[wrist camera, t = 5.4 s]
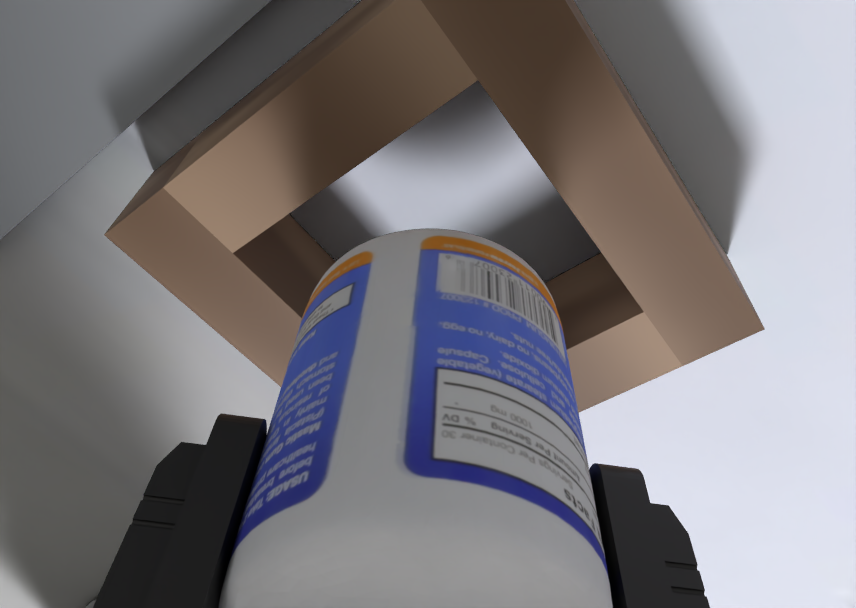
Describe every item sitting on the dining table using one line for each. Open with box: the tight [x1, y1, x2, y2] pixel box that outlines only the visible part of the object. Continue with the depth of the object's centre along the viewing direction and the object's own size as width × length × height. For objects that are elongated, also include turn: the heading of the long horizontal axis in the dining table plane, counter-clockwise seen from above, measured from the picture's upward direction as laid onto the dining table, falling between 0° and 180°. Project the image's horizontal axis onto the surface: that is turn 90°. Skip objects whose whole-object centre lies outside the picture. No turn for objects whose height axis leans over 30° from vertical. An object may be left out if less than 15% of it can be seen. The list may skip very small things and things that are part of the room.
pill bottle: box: [219, 229, 613, 608], centre depth 11 cm, size 5×5×10 cm
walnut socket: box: [104, 0, 764, 413], centre depth 17 cm, size 11×11×3 cm
